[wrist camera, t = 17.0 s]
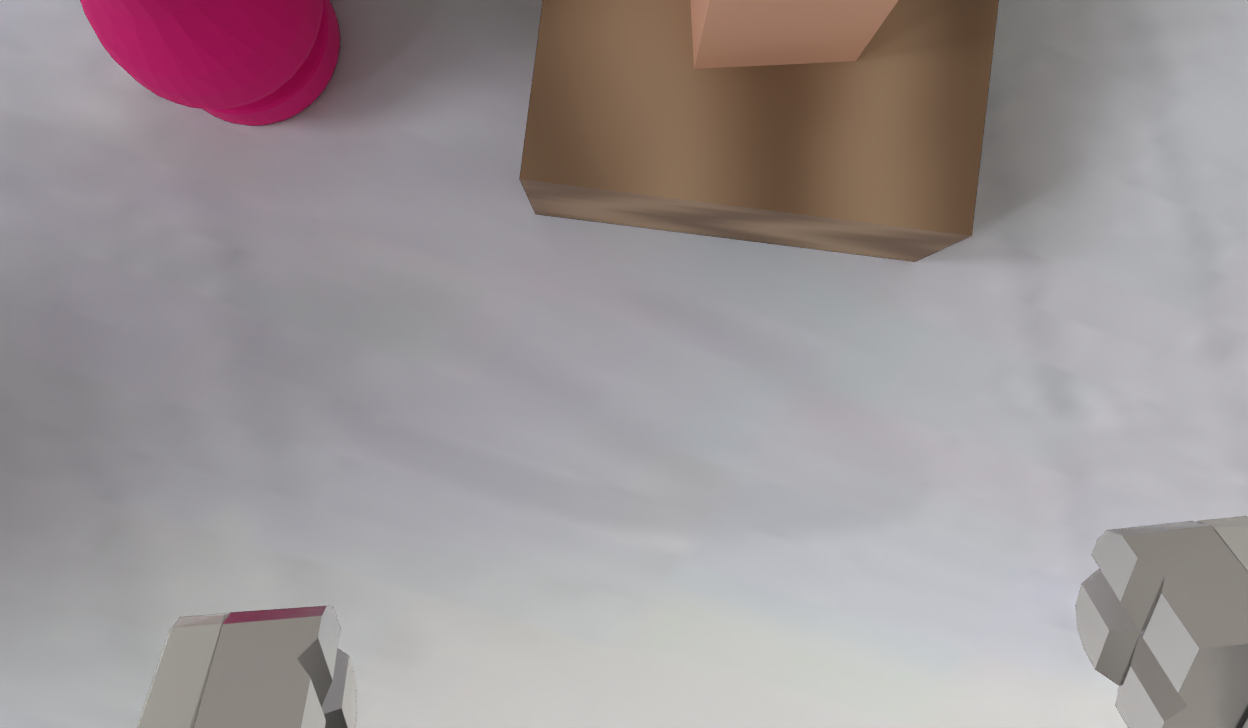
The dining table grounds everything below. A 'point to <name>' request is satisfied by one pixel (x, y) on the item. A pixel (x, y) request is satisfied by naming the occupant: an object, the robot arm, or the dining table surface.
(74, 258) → the dining table surface
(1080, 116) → the dining table surface
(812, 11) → the terracotta block
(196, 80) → the pepper mill
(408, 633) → the dining table surface
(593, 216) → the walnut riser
